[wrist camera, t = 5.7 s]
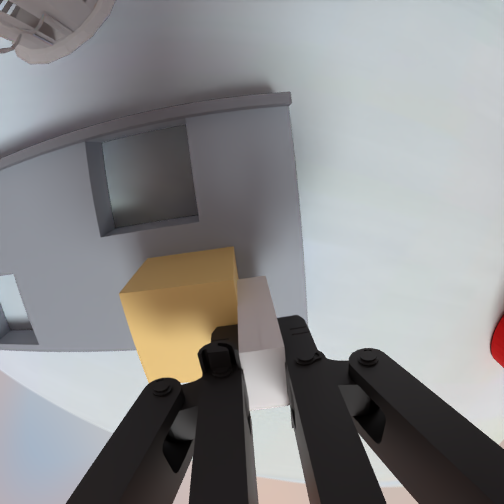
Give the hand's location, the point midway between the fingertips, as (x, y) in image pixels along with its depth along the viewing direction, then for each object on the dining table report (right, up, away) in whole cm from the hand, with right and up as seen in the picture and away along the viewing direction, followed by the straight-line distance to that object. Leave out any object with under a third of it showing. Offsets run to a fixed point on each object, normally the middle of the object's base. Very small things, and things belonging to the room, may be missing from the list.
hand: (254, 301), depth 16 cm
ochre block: (-3, 0, +2) cm, 4 cm away
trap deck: (-10, +3, +3) cm, 11 cm away
